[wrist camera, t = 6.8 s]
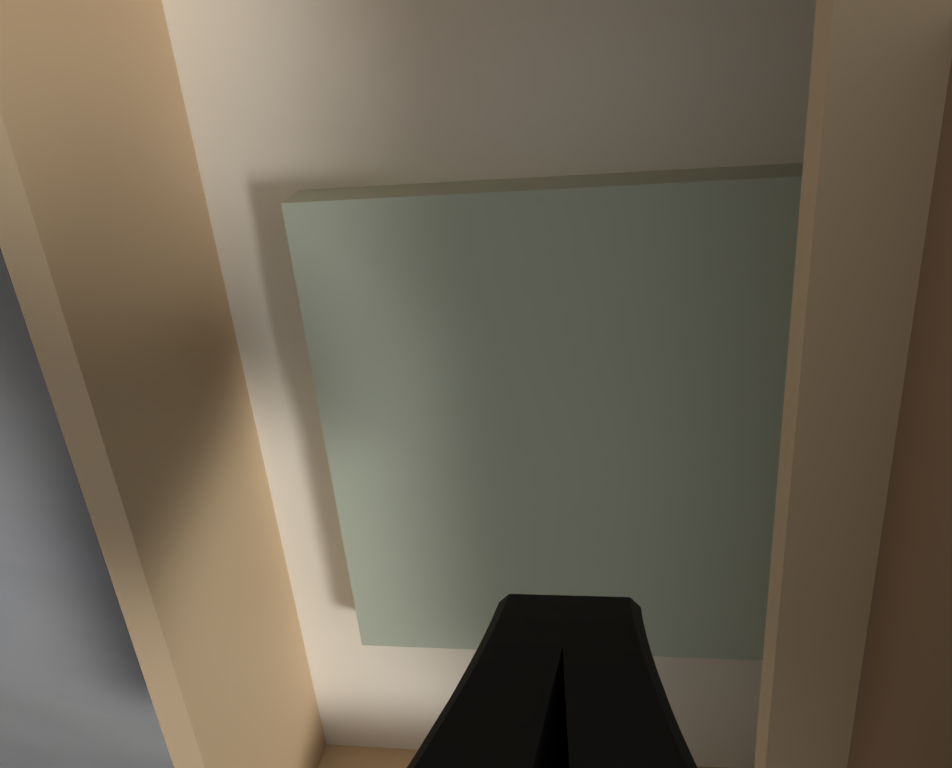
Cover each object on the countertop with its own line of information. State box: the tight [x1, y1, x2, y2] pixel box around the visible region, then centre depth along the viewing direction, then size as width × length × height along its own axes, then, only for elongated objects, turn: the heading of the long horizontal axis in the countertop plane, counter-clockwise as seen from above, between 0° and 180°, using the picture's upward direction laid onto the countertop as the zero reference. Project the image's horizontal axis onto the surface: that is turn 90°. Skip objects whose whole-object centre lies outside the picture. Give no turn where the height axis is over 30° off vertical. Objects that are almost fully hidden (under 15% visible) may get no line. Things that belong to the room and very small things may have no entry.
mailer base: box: [0, 0, 816, 768], centre depth 12 cm, size 16×18×4 cm
